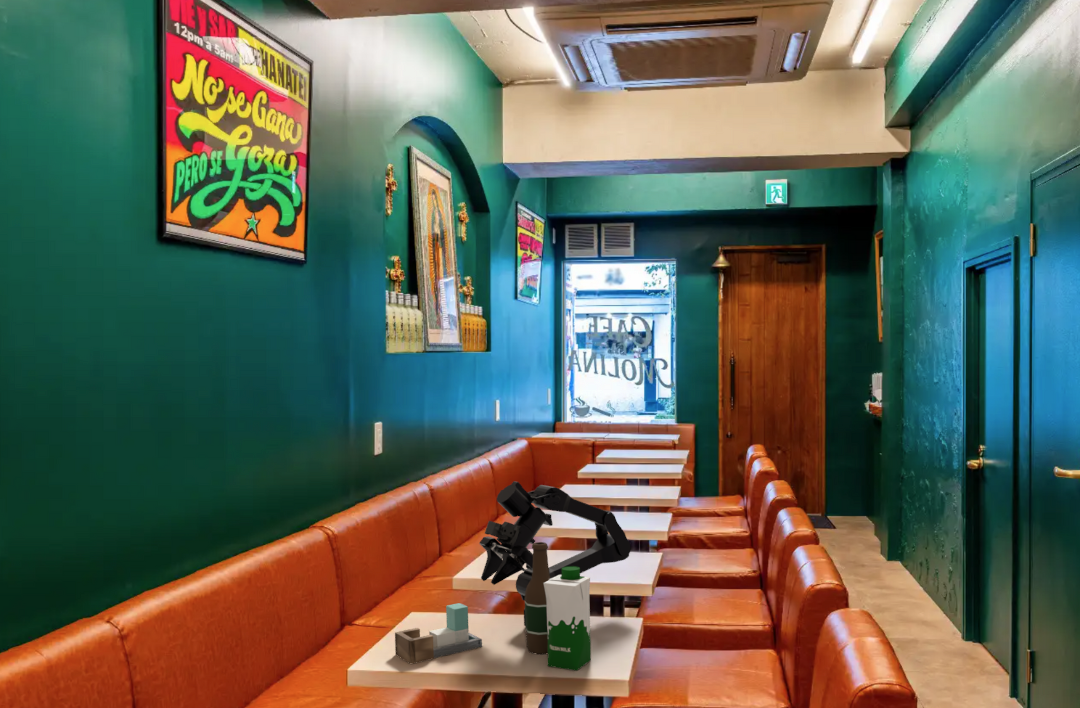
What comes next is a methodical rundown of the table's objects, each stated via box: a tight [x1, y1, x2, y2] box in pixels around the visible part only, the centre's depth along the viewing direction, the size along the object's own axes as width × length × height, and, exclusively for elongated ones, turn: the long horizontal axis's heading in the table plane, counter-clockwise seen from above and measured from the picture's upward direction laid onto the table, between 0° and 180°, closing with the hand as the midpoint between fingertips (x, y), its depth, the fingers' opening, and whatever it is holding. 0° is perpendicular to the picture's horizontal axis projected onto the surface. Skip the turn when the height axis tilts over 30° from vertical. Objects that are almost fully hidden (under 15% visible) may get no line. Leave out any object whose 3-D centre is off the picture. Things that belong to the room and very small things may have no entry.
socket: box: [394, 627, 435, 664], centre depth 196 cm, size 6×8×5 cm
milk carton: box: [544, 566, 592, 671], centre depth 189 cm, size 9×9×20 cm
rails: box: [433, 632, 483, 659], centre depth 201 cm, size 12×7×2 cm, turn 124°
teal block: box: [428, 602, 470, 648], centre depth 201 cm, size 8×4×9 cm, turn 124°
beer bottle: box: [524, 541, 550, 655], centre depth 199 cm, size 8×8×24 cm
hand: (487, 581), depth 207 cm, fingers open, 4 cm apart
